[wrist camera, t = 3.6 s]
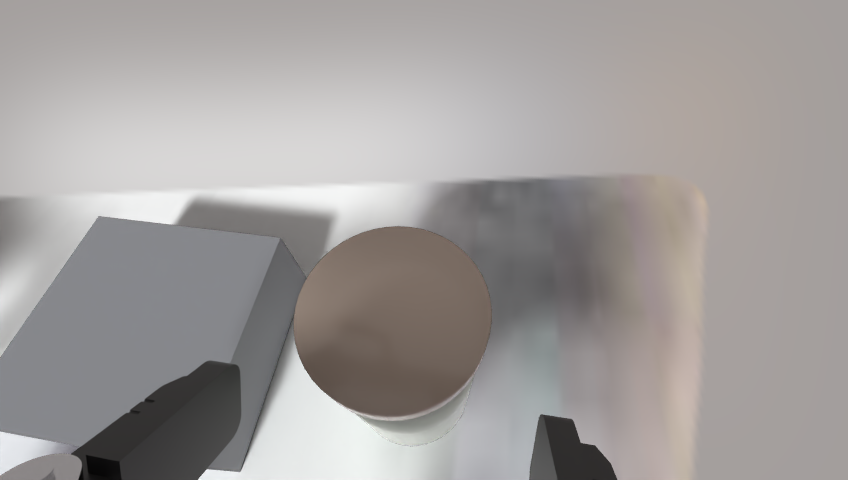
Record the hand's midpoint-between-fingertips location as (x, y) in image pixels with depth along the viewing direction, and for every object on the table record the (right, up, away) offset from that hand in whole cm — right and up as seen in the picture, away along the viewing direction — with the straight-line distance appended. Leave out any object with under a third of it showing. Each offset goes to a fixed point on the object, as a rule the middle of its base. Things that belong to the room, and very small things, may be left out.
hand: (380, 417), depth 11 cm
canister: (+1, -2, +8) cm, 8 cm away
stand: (-10, -1, +9) cm, 14 cm away
